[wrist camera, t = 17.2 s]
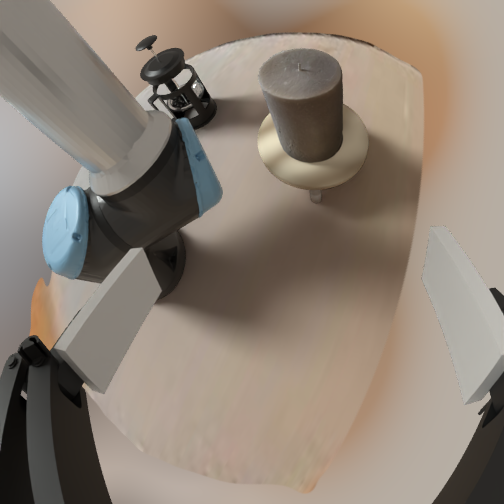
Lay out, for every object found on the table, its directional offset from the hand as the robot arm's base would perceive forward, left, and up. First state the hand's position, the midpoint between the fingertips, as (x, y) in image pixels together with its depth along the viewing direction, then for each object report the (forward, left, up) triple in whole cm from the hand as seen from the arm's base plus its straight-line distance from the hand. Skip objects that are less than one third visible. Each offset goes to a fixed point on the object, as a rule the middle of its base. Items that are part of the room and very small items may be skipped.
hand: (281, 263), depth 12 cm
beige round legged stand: (-16, +17, -32) cm, 39 cm away
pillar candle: (-16, +16, -24) cm, 33 cm away
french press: (-44, +9, -32) cm, 55 cm away
